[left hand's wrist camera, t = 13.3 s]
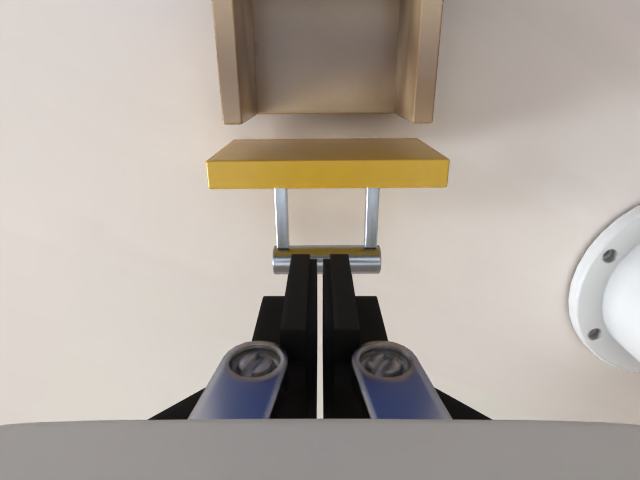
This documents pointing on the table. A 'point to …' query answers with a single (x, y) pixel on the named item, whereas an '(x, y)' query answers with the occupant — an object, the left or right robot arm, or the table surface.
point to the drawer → (327, 103)
